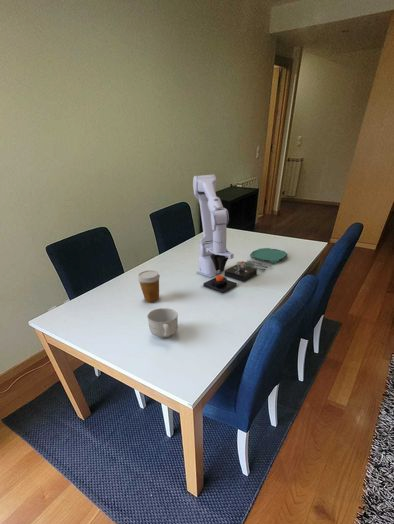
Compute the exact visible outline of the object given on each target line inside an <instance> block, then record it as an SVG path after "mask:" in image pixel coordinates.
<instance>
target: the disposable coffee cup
mask: <svg viewBox="0 0 394 524" xmlns="http://www.w3.org/2000/svg"><path fill="white" fill-rule="evenodd" d="M160 276H161V275H160V274H159V272H158V271H156V270H153V269H148V270H147V269H146V270H143V271H141V272H139V273H138V274H137V278H136V279H137V281H138V283H139V285H140V288H141V292H142V295H143V298H144V301H145V303H149V304H152V303H153V304H154V303H157V302H159V300H160Z"/></svg>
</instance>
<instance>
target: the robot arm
mask: <svg viewBox="0 0 394 524" xmlns="http://www.w3.org/2000/svg"><path fill="white" fill-rule="evenodd" d="M217 182H218V181H217V177H216V175H215V174H214V173H212V174H204V175H194V176H193V179H192V187H193V195H194V198H195V199H197V200H198V204H199V209H200V210H199V211H200V217H201V225H202V232H203V233H202V234H203V236H202V237H201V238H200V240H199V241H198V251H199V252H198V253H199V257H198V271H197V274H201V275H203V276H206V277H209V278H212V277H213V278H214V277H216V276H217V275H220V274H221V273H224V270H225V267H226V265H227V262H228V260H232V259H234V257H235V255H234V253H233V252H231V251H229V250H228V248H227V225H228V224H229V221H230V217H229V210H228V209H227V208H225V207H224V205H223V203H222V200H221V198H220V197H219V196H217V193H216V189H217Z"/></svg>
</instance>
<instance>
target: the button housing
mask: <svg viewBox="0 0 394 524" xmlns="http://www.w3.org/2000/svg"><path fill="white" fill-rule="evenodd" d="M202 286H203V287H204V288H207V289H209V290H211V291H215V292H217V293H220V294H225V293H226V292H228V291H230V290H232V289H234V288H235V287H237V282H235V281H232V280H229V279H228V278H227V277H226V276H224V280H223V281H216V276H214V277H213V278H211V279H209V280H207V281H205V282H203V285H202Z"/></svg>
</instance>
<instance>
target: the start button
mask: <svg viewBox="0 0 394 524" xmlns="http://www.w3.org/2000/svg"><path fill="white" fill-rule="evenodd" d="M215 277H216V281H223V280H224V277H225V276H224V274H223V275H222V274H217V275H215Z"/></svg>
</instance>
